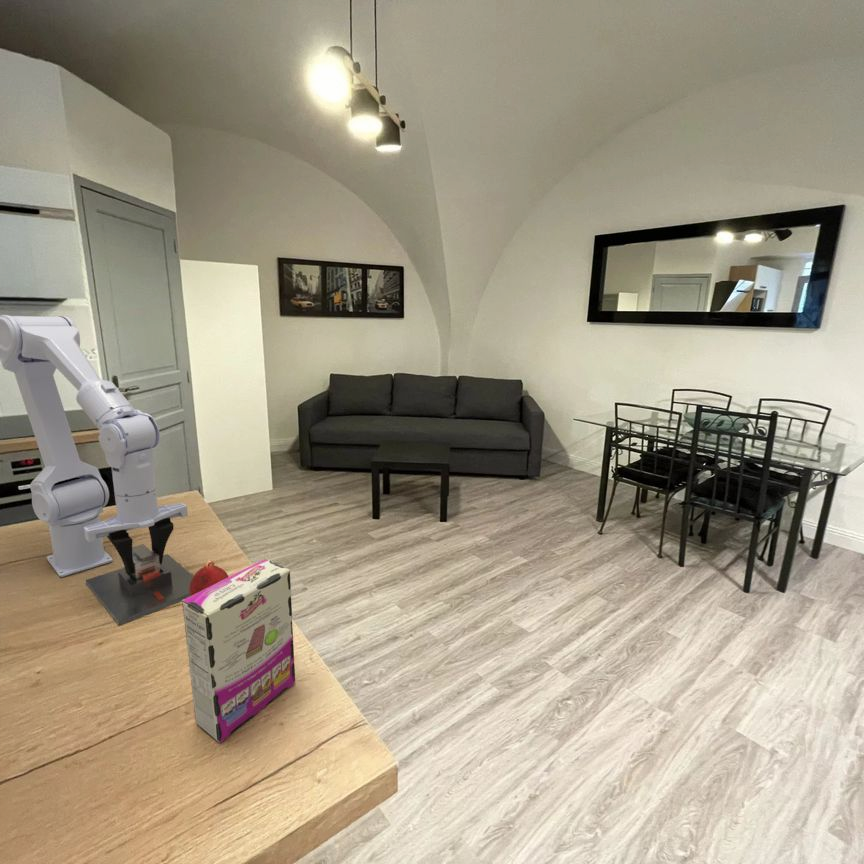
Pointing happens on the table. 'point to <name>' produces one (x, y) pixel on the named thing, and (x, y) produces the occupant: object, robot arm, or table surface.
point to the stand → (141, 590)
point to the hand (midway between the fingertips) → (144, 566)
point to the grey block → (144, 561)
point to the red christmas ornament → (206, 577)
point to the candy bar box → (239, 646)
